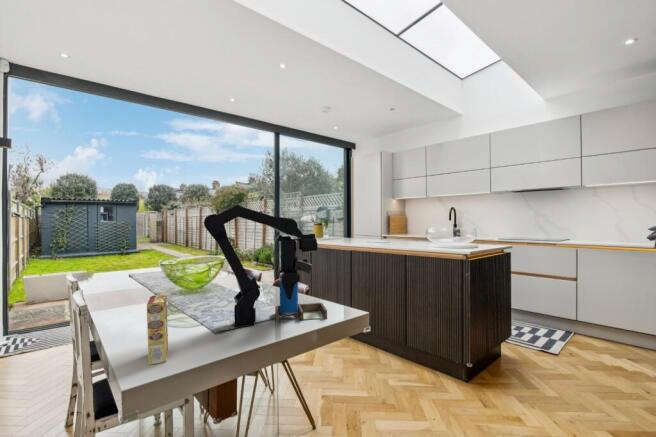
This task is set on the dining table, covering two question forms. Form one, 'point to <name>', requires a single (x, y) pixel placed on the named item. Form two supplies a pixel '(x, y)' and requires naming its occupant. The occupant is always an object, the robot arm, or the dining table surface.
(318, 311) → the slot rack
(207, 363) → the dining table surface
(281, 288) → the beverage can
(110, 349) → the dining table surface
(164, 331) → the candy box
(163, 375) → the dining table surface
